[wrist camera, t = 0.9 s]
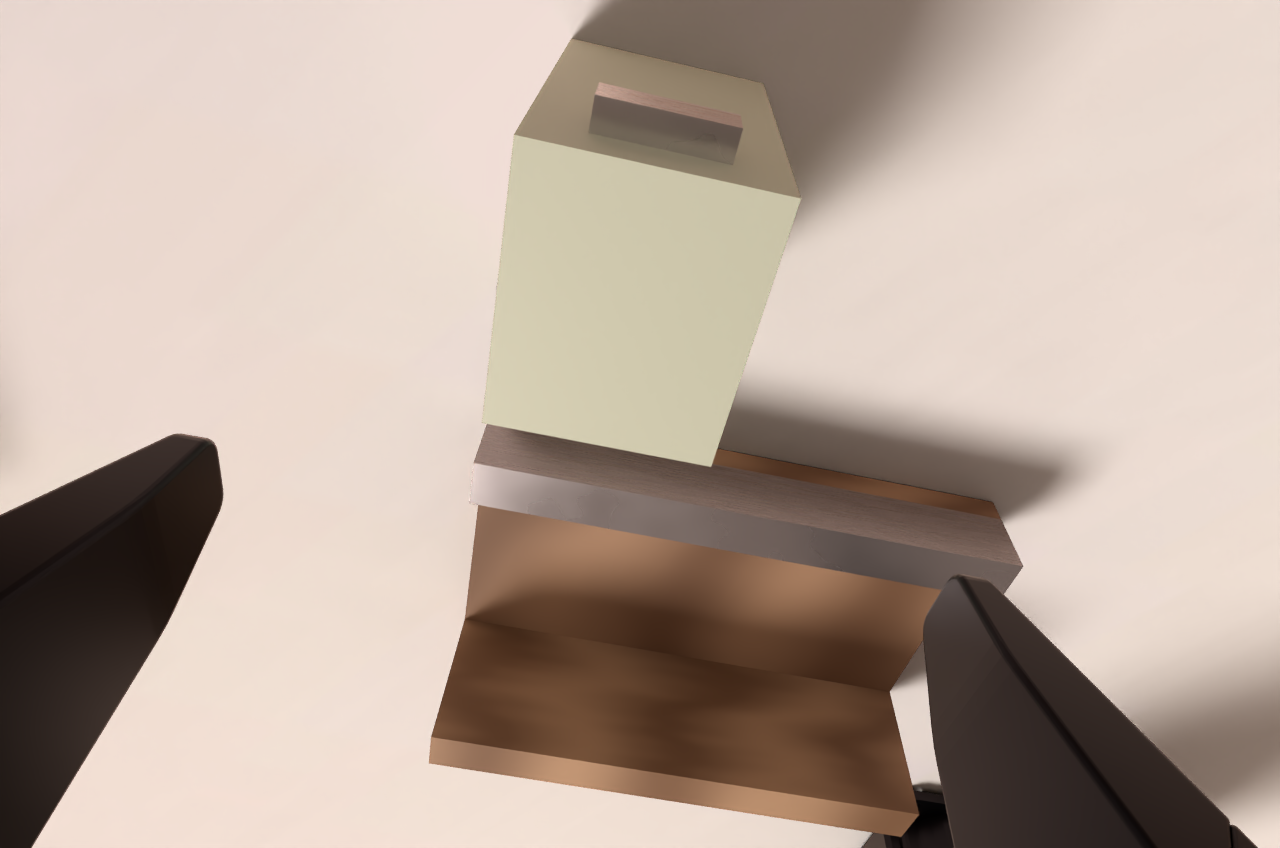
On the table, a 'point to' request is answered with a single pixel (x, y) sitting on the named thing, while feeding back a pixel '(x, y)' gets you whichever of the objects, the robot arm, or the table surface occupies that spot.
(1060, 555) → the table surface
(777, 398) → the table surface
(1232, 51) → the table surface
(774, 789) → the cleat rack
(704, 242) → the cabinet block
